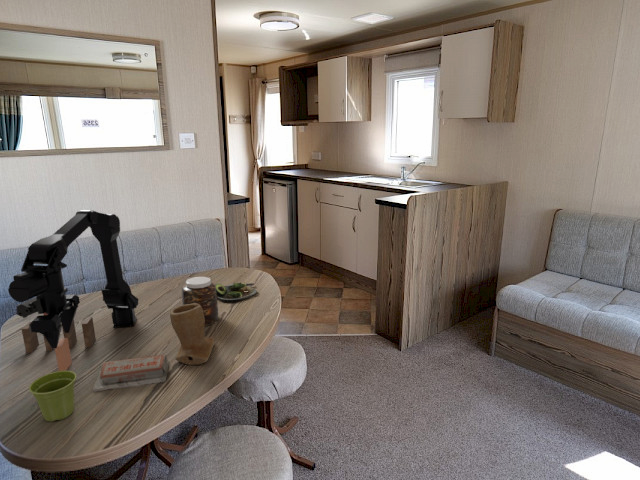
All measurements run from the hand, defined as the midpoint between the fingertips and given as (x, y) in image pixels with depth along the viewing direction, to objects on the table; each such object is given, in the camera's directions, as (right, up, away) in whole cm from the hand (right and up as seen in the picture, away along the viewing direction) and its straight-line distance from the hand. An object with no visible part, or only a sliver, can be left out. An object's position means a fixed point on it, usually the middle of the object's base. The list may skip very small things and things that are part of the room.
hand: (61, 340), depth 117 cm
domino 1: (-17, -6, +12) cm, 22 cm away
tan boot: (+34, -7, +9) cm, 36 cm away
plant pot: (+10, -13, -18) cm, 24 cm away
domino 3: (-6, -5, +15) cm, 17 cm away
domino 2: (-11, -5, +14) cm, 18 cm away
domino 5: (0, -5, +16) cm, 17 cm away
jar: (+30, -1, +32) cm, 44 cm away
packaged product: (+21, -10, -3) cm, 24 cm away
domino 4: (0, -8, +2) cm, 9 cm away
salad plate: (+36, +5, +56) cm, 67 cm away
